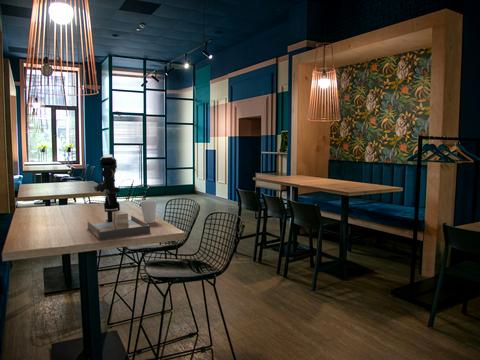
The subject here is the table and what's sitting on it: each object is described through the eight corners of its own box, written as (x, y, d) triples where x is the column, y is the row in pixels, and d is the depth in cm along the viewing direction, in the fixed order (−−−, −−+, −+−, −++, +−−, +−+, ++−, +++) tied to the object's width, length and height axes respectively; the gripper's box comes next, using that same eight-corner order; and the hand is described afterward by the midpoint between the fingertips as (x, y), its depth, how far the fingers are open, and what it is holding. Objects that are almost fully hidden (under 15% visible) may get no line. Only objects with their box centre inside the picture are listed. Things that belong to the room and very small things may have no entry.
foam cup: (140, 221, 244) (139, 200, 242) (155, 219, 247) (154, 199, 246) (142, 224, 235) (141, 202, 233) (158, 222, 238) (157, 201, 237)
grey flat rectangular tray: (88, 228, 226) (87, 220, 226) (133, 222, 240) (132, 215, 239) (100, 240, 198) (99, 231, 198) (150, 232, 211) (149, 224, 211)
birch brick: (112, 227, 217) (111, 211, 216) (123, 226, 220) (122, 210, 219) (117, 231, 208) (116, 214, 207) (128, 229, 211) (127, 213, 210)
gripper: (89, 179, 232) (91, 205, 233) (99, 179, 217) (101, 207, 218) (108, 177, 239) (110, 203, 240) (119, 177, 224) (121, 205, 224)
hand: (110, 204), depth 230 cm, fingers closed
